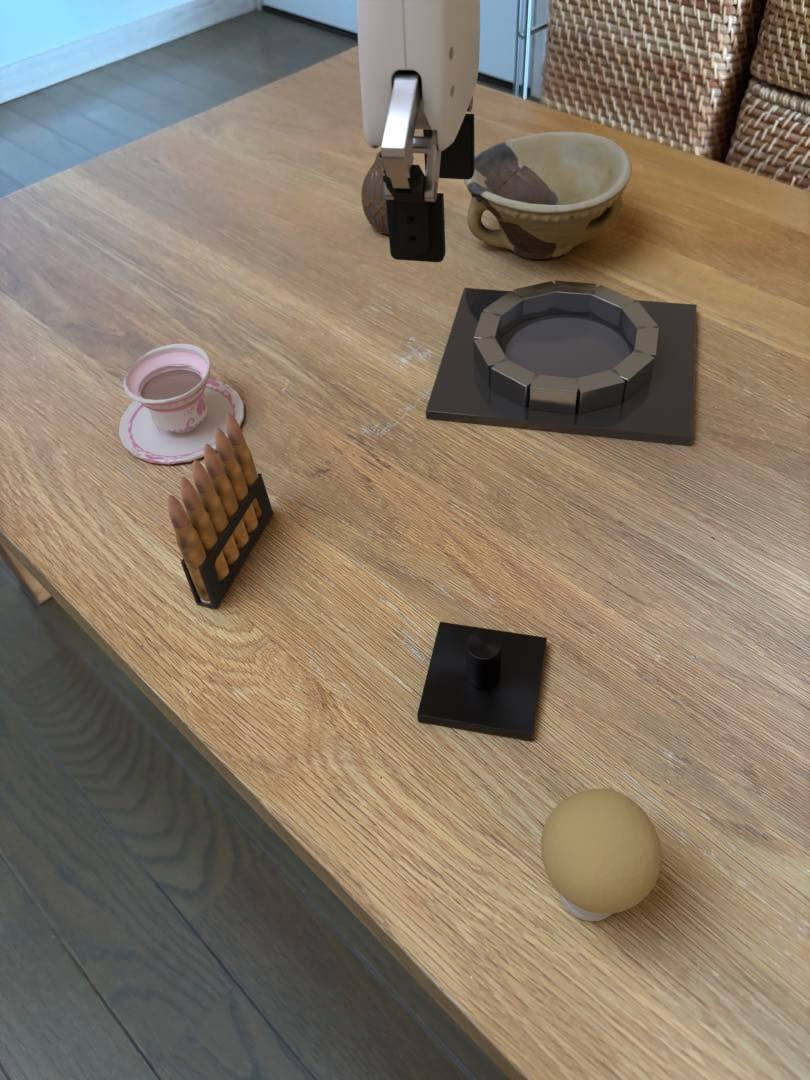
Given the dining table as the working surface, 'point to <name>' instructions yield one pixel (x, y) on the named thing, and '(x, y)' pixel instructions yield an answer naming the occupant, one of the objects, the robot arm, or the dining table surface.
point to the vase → (375, 196)
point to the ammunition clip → (220, 515)
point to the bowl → (548, 191)
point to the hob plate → (573, 373)
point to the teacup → (175, 405)
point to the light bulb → (600, 853)
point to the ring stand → (483, 681)
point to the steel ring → (555, 389)
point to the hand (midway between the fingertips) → (435, 215)
